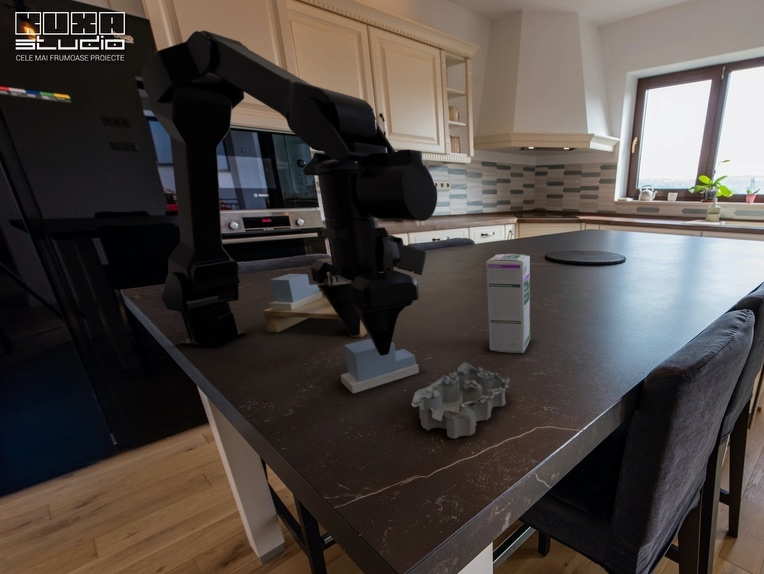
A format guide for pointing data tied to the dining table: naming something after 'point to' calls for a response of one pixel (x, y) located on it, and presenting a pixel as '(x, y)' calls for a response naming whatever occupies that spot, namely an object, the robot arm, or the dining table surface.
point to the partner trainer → (293, 292)
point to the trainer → (375, 366)
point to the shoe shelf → (302, 315)
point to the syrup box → (508, 302)
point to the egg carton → (460, 400)
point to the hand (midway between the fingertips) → (369, 344)
